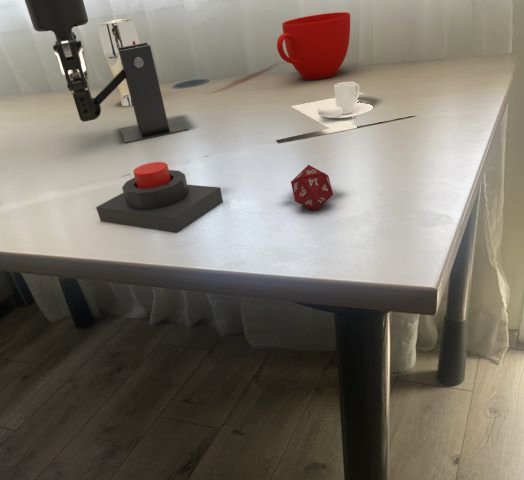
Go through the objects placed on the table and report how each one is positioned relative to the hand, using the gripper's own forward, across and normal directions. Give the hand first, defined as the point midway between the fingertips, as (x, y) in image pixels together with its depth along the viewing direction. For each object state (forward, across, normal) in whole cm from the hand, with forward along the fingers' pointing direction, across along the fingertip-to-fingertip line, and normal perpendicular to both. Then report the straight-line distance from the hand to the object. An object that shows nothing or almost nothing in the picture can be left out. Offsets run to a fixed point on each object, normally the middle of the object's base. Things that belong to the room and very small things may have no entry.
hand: (88, 114), depth 81 cm
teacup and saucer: (+5, +10, +35) cm, 37 cm away
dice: (+5, +43, +20) cm, 48 cm away
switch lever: (-2, 0, +6) cm, 6 cm away
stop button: (+2, +34, +6) cm, 35 cm away
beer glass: (+5, -26, +9) cm, 28 cm away
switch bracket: (+5, 0, +9) cm, 11 cm away
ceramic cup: (+5, -20, +44) cm, 48 cm away
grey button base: (+5, +34, +6) cm, 35 cm away
